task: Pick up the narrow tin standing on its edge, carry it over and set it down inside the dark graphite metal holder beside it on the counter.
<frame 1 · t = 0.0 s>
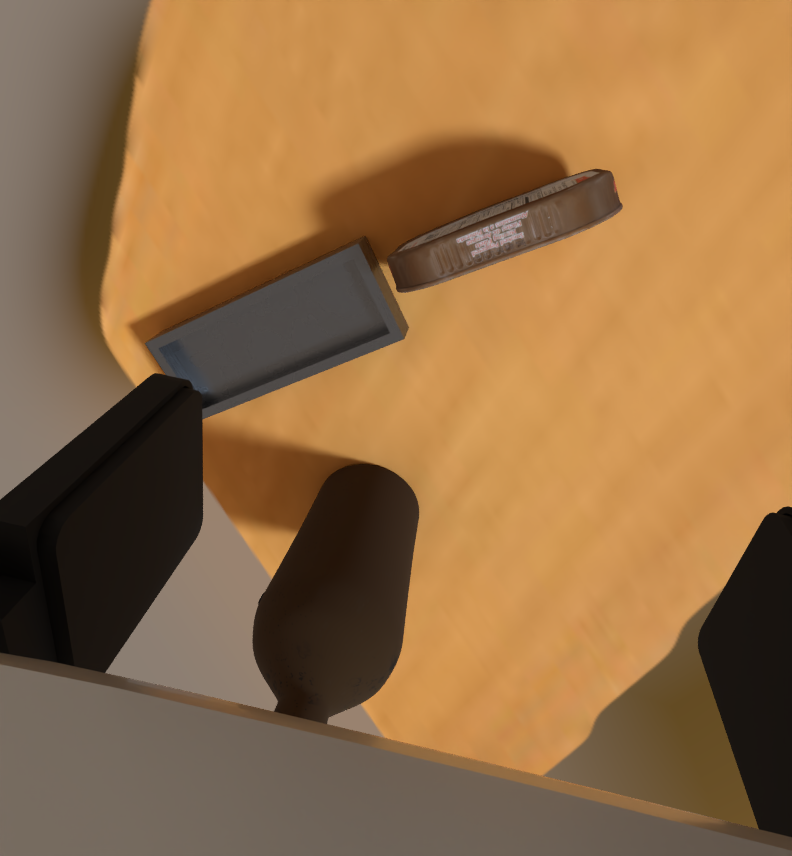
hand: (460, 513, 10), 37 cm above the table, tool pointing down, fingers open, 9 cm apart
tin: (498, 218, 44), on the table
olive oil: (368, 504, 58), on the table
holder: (279, 330, 50), on the table
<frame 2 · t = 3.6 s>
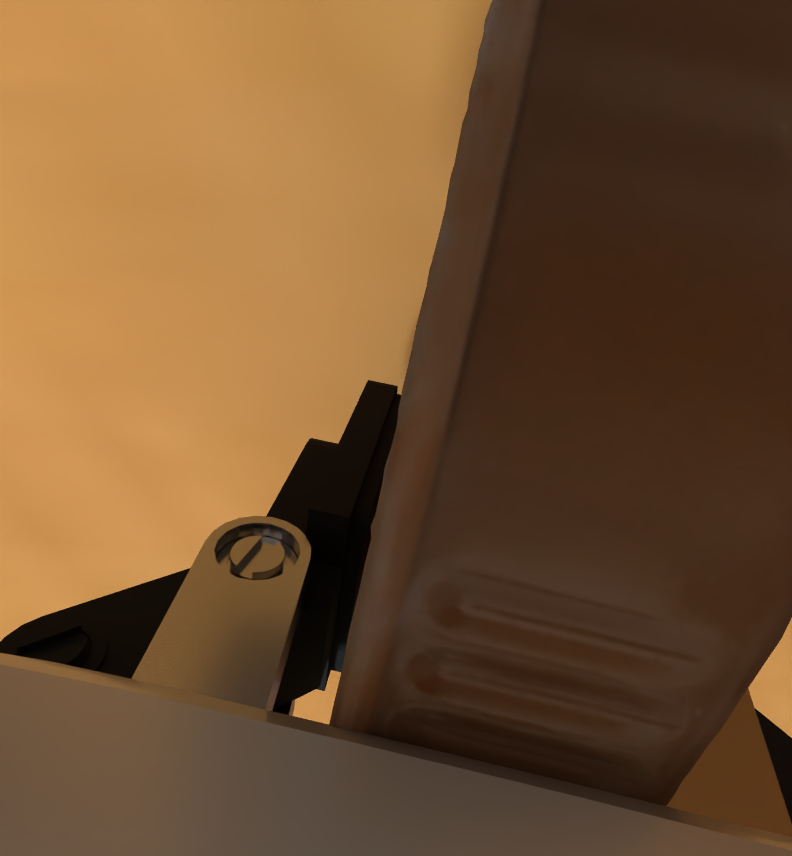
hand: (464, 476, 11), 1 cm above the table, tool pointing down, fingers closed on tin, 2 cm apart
tin: (481, 441, 13), on the table, touching gripper
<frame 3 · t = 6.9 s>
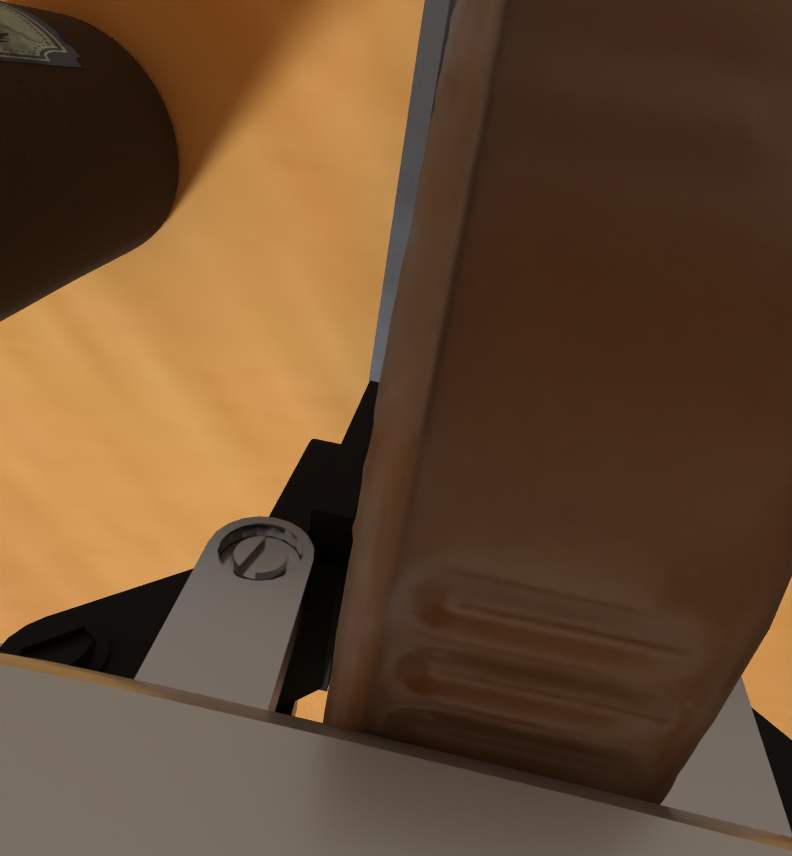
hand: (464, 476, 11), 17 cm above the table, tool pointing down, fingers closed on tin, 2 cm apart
tin: (480, 440, 13), point 16 cm above the table, touching gripper
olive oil: (80, 142, 27), on the table
holder: (487, 246, 26), on the table
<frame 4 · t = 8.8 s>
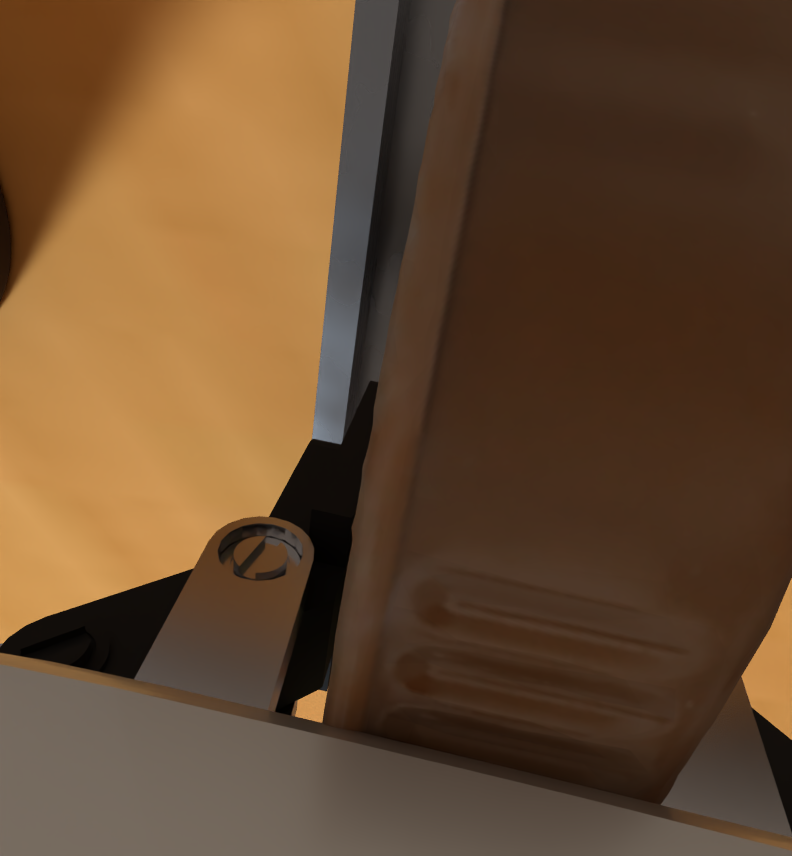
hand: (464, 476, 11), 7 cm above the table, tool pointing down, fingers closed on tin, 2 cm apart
tin: (480, 439, 13), point 5 cm above the table, touching gripper
holder: (479, 348, 17), on the table
when the fingers open (3 cm above the table, at t = 10.1 s): tin drops 1 cm, resting on holder.
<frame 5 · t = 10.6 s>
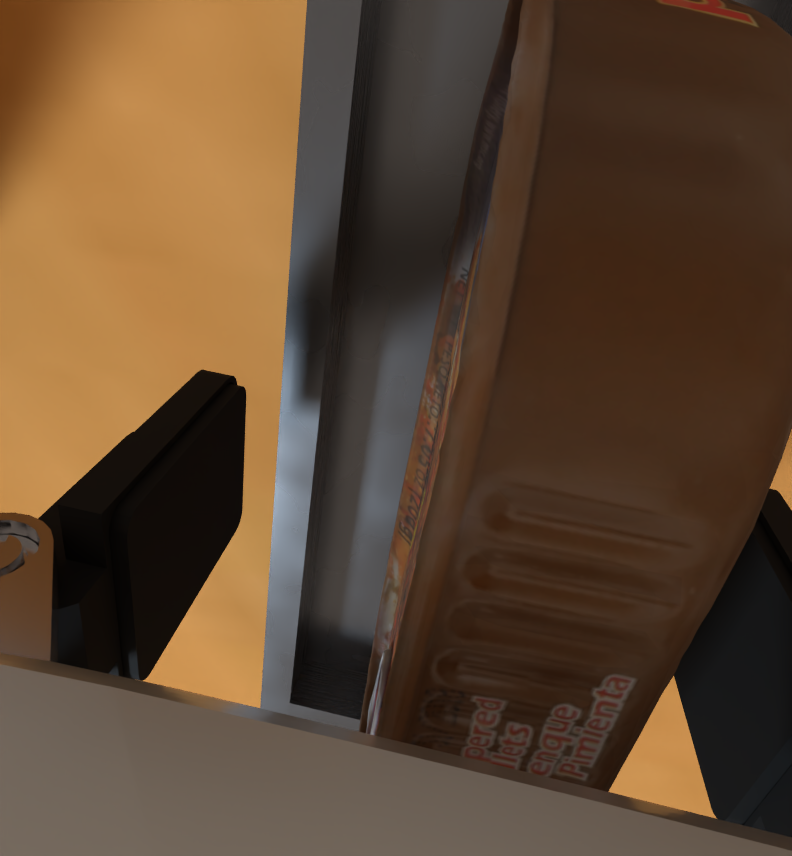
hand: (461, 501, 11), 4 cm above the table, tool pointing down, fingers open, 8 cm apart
tin: (489, 419, 14), point 1 cm above the table, touching holder
holder: (472, 394, 14), on the table
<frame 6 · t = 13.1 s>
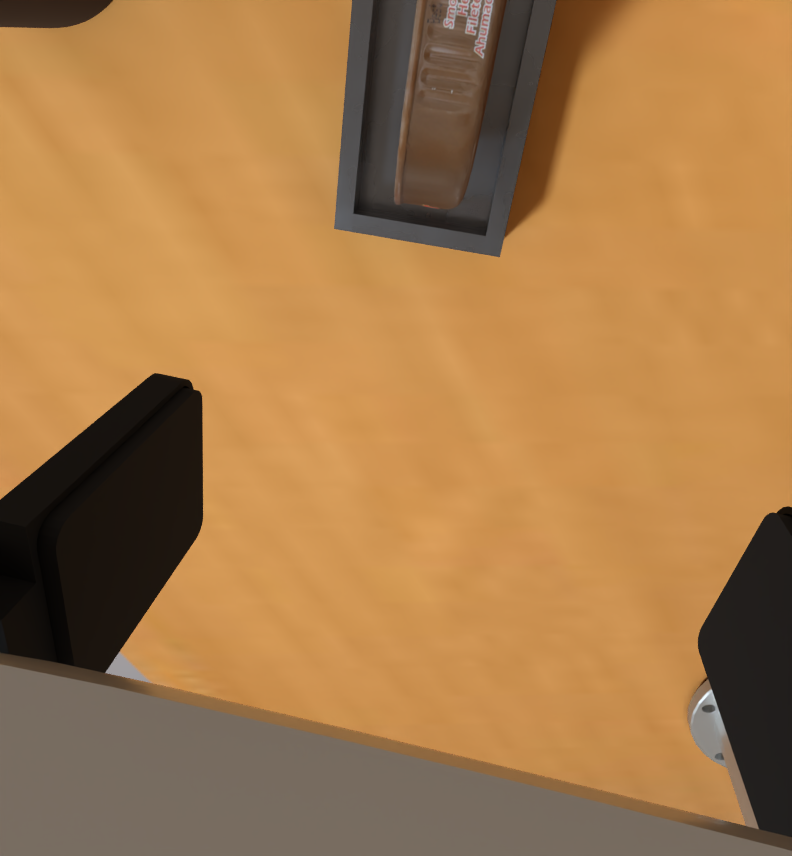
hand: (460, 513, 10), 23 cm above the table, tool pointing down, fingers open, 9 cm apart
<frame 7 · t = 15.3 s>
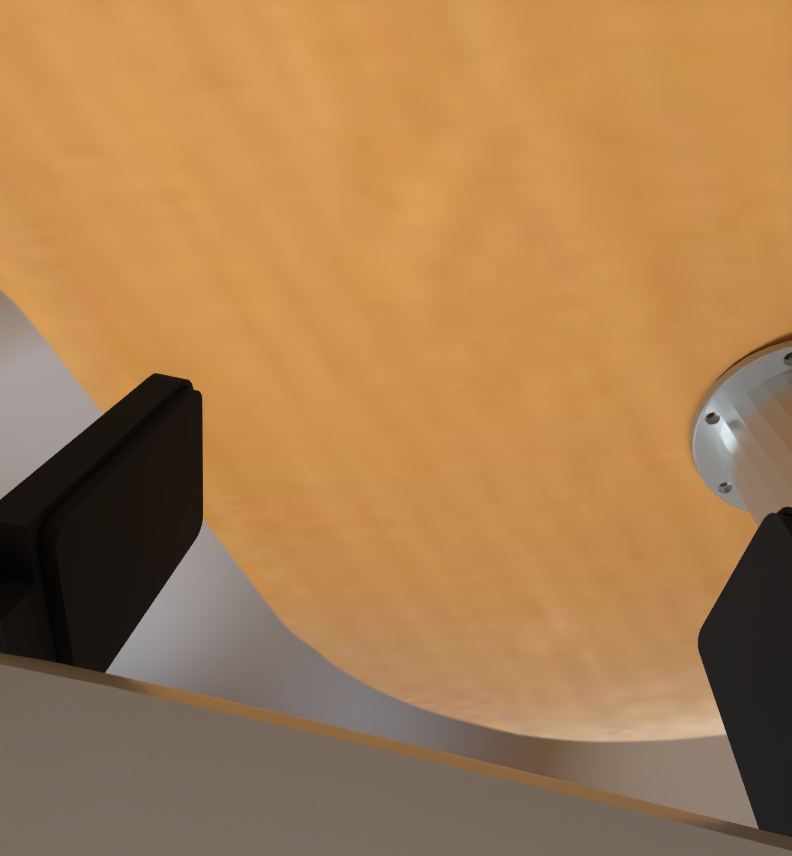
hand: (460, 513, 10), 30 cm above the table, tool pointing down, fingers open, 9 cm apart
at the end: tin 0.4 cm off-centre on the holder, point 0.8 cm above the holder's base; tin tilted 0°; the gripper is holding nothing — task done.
